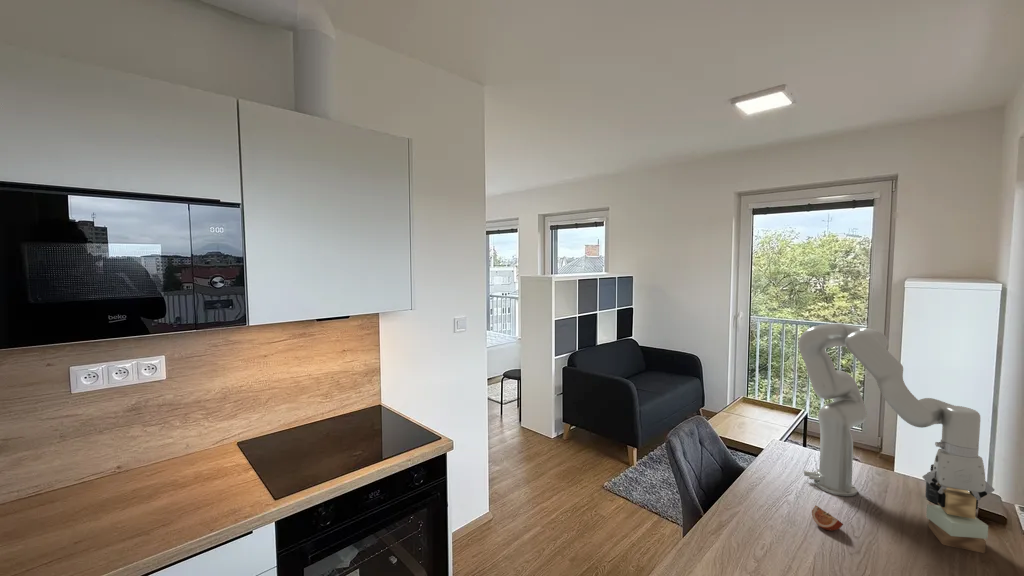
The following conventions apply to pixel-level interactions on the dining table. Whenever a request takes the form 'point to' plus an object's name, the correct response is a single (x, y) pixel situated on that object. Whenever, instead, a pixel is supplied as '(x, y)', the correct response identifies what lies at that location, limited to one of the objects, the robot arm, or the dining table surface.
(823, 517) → the fruit slice
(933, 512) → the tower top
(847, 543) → the dining table surface
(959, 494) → the oak cube
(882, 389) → the robot arm
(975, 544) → the block
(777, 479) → the dining table surface
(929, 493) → the supplement bottle
